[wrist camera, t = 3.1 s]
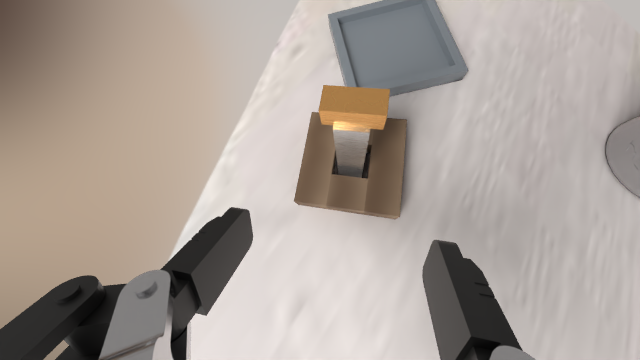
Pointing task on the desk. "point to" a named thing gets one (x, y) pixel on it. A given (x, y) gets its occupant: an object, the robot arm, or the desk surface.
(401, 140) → the socket plate
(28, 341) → the robot arm
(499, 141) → the desk surface
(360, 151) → the key
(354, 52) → the tray
